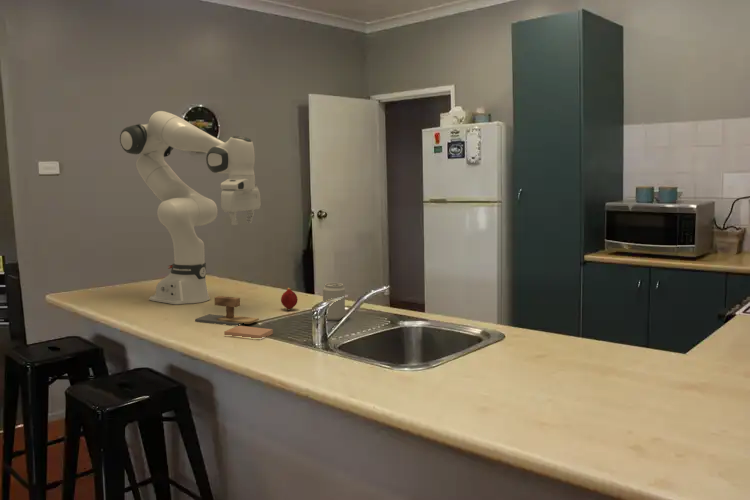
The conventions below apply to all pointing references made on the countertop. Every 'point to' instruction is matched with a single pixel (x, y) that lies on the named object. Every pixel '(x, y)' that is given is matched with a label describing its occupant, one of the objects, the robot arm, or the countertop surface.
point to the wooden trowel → (232, 310)
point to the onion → (289, 299)
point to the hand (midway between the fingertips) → (242, 223)
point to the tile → (249, 332)
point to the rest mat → (214, 320)
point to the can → (337, 307)
